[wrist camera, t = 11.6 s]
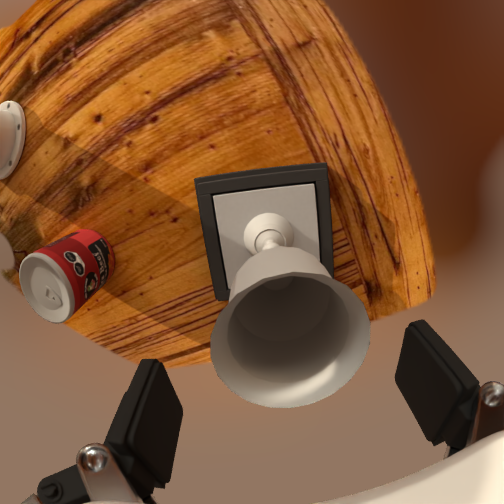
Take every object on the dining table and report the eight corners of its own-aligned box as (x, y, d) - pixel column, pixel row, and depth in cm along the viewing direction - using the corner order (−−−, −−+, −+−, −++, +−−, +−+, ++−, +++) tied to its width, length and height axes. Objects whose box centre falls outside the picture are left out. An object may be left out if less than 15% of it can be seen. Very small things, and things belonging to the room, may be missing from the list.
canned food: (114, 290, 33) (73, 334, 23) (68, 272, 33) (22, 308, 22) (120, 236, 31) (71, 269, 21) (71, 221, 30) (16, 245, 20)
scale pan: (229, 283, 31) (228, 289, 30) (215, 194, 28) (212, 196, 27) (317, 272, 31) (320, 277, 29) (310, 182, 28) (314, 183, 26)
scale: (217, 294, 33) (214, 306, 30) (196, 178, 29) (190, 179, 26) (331, 279, 33) (337, 290, 30) (323, 162, 28) (331, 162, 26)
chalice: (302, 269, 29) (356, 398, 12) (237, 273, 29) (221, 410, 12) (301, 200, 27) (381, 264, 10) (232, 203, 27) (197, 276, 10)
